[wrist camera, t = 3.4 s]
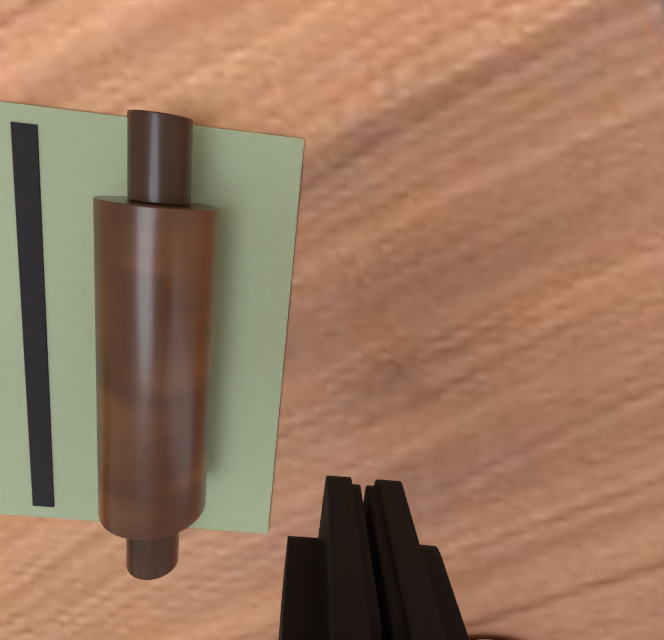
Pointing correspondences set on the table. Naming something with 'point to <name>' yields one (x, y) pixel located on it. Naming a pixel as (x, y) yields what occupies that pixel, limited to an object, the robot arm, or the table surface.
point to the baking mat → (79, 308)
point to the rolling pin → (154, 344)
